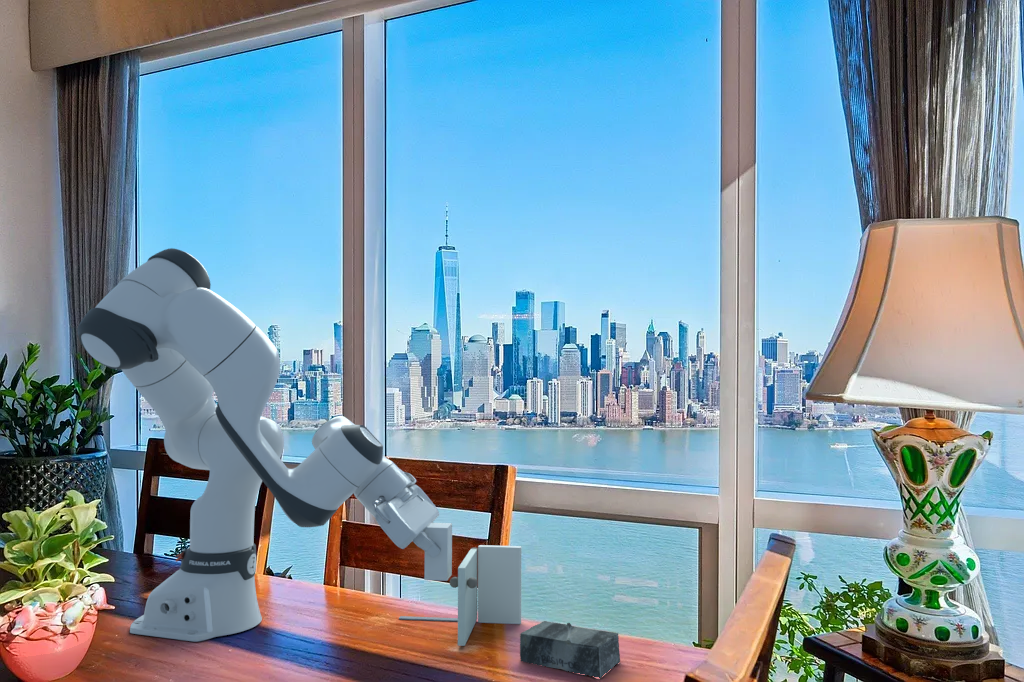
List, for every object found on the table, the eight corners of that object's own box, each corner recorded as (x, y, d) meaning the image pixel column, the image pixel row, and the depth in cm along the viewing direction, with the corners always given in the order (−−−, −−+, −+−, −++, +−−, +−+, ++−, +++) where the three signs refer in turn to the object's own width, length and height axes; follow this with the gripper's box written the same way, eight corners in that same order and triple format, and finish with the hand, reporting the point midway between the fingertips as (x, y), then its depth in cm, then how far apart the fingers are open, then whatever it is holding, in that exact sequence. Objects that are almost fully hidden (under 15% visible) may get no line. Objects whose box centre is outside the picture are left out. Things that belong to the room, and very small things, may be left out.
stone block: (546, 646, 133) (546, 615, 133) (624, 663, 125) (624, 630, 125) (519, 662, 125) (519, 629, 125) (599, 682, 117) (600, 647, 118)
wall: (398, 619, 145) (399, 544, 145) (400, 617, 146) (400, 542, 147) (520, 624, 143) (520, 547, 143) (521, 621, 144) (521, 546, 144)
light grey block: (447, 580, 133) (447, 527, 133) (424, 579, 133) (424, 527, 133) (451, 574, 136) (452, 523, 137) (429, 573, 137) (429, 522, 137)
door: (475, 646, 130) (475, 568, 130) (447, 645, 130) (447, 567, 131) (487, 617, 144) (487, 548, 145) (461, 617, 145) (462, 547, 145)
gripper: (383, 489, 126) (441, 552, 124) (413, 472, 146) (463, 526, 145) (356, 516, 126) (414, 579, 125) (390, 495, 146) (440, 549, 145)
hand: (441, 550), depth 135 cm, fingers closed on light grey block, 4 cm apart
